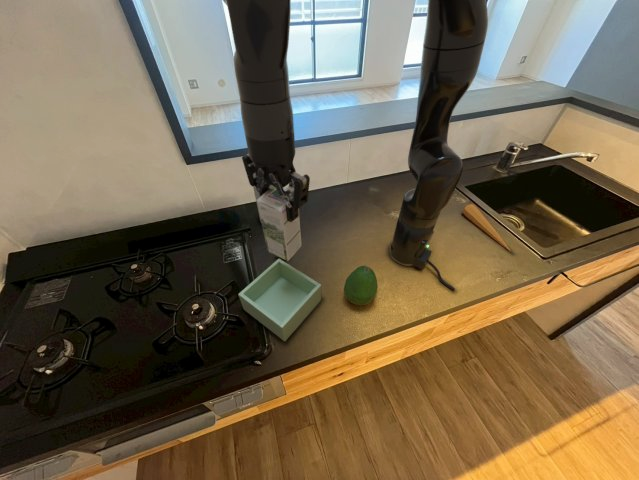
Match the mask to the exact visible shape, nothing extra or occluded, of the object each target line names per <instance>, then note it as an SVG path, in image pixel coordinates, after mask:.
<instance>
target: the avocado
mask: <svg viewBox="0 0 639 480" xmlns="http://www.w3.org/2000/svg"><path fill="white" fill-rule="evenodd" d="M378 288H379V285H378V278H377V276H376V273H375V271H374V270H373V269H372V268H371V267H369V266H367V265H360V266H358V267H356V268H355V269H354V270H353V271H351V272H350V274H349V275H348V276H347V277H346V279H345V282H344V286H343V291H344V295H345V298H346V299H347V300H348V301H349V302H350V303H351V304H354V305H357V306H365V305H368V304H369V303H371V302H372V301H373V300H374V298H375V297H376V295H377V293H378Z"/></svg>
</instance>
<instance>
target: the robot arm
mask: <svg viewBox="0 0 639 480" xmlns="http://www.w3.org/2000/svg"><path fill="white" fill-rule="evenodd" d="M222 1H223V3H224V4H225V5H226V7H227V10H228V15H229V22H230V27H231V32H232V37H233V44H234V48H235V49H234V50H235V51H234V52H233V53H234V54H233V67H234V74H235V80H236V84H237V90H238V95H239V102H240V115H241V122H242V126H243V131H244V136H245V142H246V147H247V154H245V155H243V156H242V157H241V159H242V160H241V161H242V162H243V166H244V170H245V174H246V177H247V180H248V183H249V185H250V186H251V187H253V186H256V189H257V191H258V192H259V194H260V197H261V196H262V195H263V194H264V193H265V192H266V191H268V190H269V189H270V188H268V187H270V185H273V186H274V187H275V188H276V189H277V191H278V194H279V196H280V197H283V199H284V201H285V203H286V205H287V206H286V214H287V221H289V222H292V221H294V220H295V219H296V218H297V217H298V216H299V217H300V208H301V207H303V206H304V205H305V204H307V203H308V200H309V191H310V182H311V180H310V179H311V178H310V176H309V175H308V174H304V175H301V174H299V173H297V172H296V168H295V165H294V158H295V156H296V140H295V139H296V138H295V125H294V111H293V106H292V100H291V91H290V90H291V89H290V75H289V65H288V50H289V41H290V27H291V10H292V9H291V8H292V5H291V4H292V1H291V0H222ZM488 27H489V15H488V5H487V0H427V12H426V21H425V29H424V35H423V43H422V44H423V45H422V54H421V62H420V73H419V84H418V85H419V86H418V95H417V102H416V103H417V105H416V116H415V122H414V127H413V132H412V136H411V142H410V146H409V150H408V156H407V166H408V170H409V171H410V173H411V175H412V176H413V178H414V179H415V180H416V186H415V188H412V189H410V190H408V191H407V192H405V194H404V196H403V199H402V202H401V207H400V209H399V214H398V217H397V221H396V225H395V229H394V233H393V236H392V239H391V243H390V246H389V257H390V258H391V259H392V260H393V261H394V262H395V263H397V264H399V265H401V266H404V267H414V268H418V269H420V270H423V269H424V268H425V266H426V264H428V265H429V266H430V267H431V268H432V269H433V270H434V271H435V273H436V275H437V277H438V280H439V282H440V283H441V284H443V285H444V286H446V287H447V288H448V289H450V290H452V291H455V289H456V288H455V287H454V286H452V285H451V284H449V283H448V282H446V281H445V280H444V279H443V278H442V275H441V272H440V271H439V269H438V268H437V267H436V265H434V263H432V262H431V260H429V259H430V258H431V255H432V253H433V251H432V250H430V249H429V246H430V243H431V241H432V239H433V236H434V234H435V231H434V229H435V228H436V225H437V223H438V220H439V217H440V215H441V212H442V210H443V209H445V207H446V206H447V205H448V204H449V202H450V200H451V198H452V196H453V194H454V192H455V190H456V187H457V186H458V184H459V181H460V179H461V176H462V174H463V169H464V162H463V160H462V158H461V157H460V155H458V154H457V152H456V151H454V150H453V149H452V148H451V146H449V143H448V135H449V130H450V124H451V119H452V116H453V113H454V110H455V109H456V107H457V105H458V104H460V103H459V102H460V101H461V100H462V98H464V96H465V95H466V93H467V92H468V90H469V89H470V87H471V85H472V84H473V82H474V80H475V78H476V76H477V73H478V70H479V67H480V63H481V59H482V54H483V52H484V46H485V43H486V38H487V34H488ZM254 173H256V177H255V178H254V177H253V174H254ZM286 186H288V187H286ZM285 187H286V188H285ZM290 193H291V195H292V197H293V198H292V199H290V197H289V194H290ZM298 209H299V210H298Z"/></svg>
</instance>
